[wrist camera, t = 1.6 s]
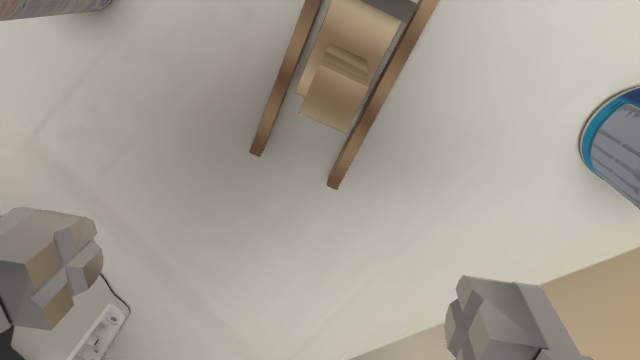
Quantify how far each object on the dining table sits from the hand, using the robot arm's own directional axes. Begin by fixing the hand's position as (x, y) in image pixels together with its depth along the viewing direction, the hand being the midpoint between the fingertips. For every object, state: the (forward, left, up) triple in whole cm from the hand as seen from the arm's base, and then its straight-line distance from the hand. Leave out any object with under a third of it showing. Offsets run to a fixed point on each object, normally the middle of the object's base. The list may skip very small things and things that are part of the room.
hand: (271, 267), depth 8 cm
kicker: (+1, 0, -24) cm, 24 cm away
